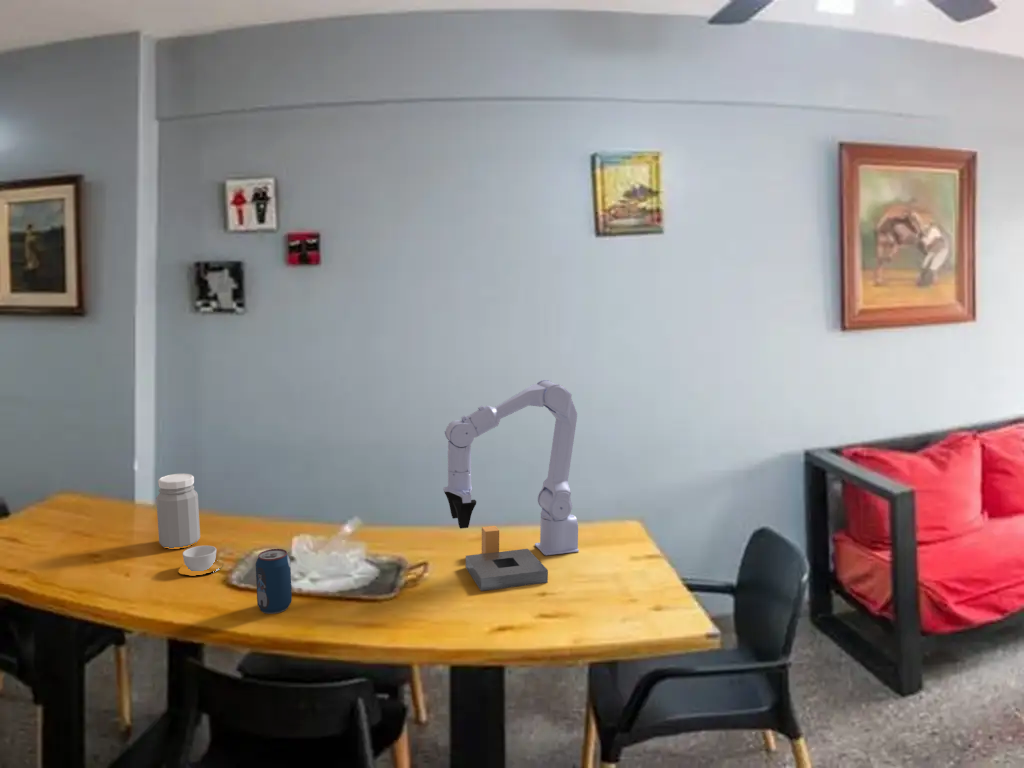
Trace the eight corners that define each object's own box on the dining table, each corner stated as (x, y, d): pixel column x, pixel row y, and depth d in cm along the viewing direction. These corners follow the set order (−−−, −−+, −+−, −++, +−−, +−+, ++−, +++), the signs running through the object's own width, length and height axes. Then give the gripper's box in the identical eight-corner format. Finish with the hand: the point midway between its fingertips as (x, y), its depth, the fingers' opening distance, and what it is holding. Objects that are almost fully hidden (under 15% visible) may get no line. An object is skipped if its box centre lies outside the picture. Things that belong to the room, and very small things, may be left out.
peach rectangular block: (495, 551, 182) (495, 525, 181) (499, 556, 179) (499, 530, 178) (481, 553, 181) (481, 527, 180) (485, 558, 177) (485, 531, 176)
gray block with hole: (527, 560, 176) (527, 548, 176) (547, 582, 163) (547, 570, 163) (465, 567, 172) (465, 555, 171) (481, 591, 158) (481, 578, 158)
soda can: (295, 600, 153) (293, 547, 151) (286, 615, 146) (284, 560, 145) (263, 600, 153) (261, 547, 151) (253, 615, 146) (250, 560, 144)
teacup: (206, 579, 164) (205, 560, 163) (168, 576, 166) (167, 557, 165) (231, 563, 173) (230, 545, 173) (195, 560, 175) (194, 542, 175)
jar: (159, 540, 188) (155, 474, 185) (200, 535, 192) (196, 471, 189) (158, 553, 179) (154, 484, 177) (200, 547, 183) (197, 480, 181)
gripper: (437, 463, 179) (438, 515, 181) (450, 478, 165) (451, 534, 167) (464, 461, 181) (464, 512, 183) (479, 476, 167) (479, 531, 169)
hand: (460, 522), depth 175 cm, fingers open, 7 cm apart
